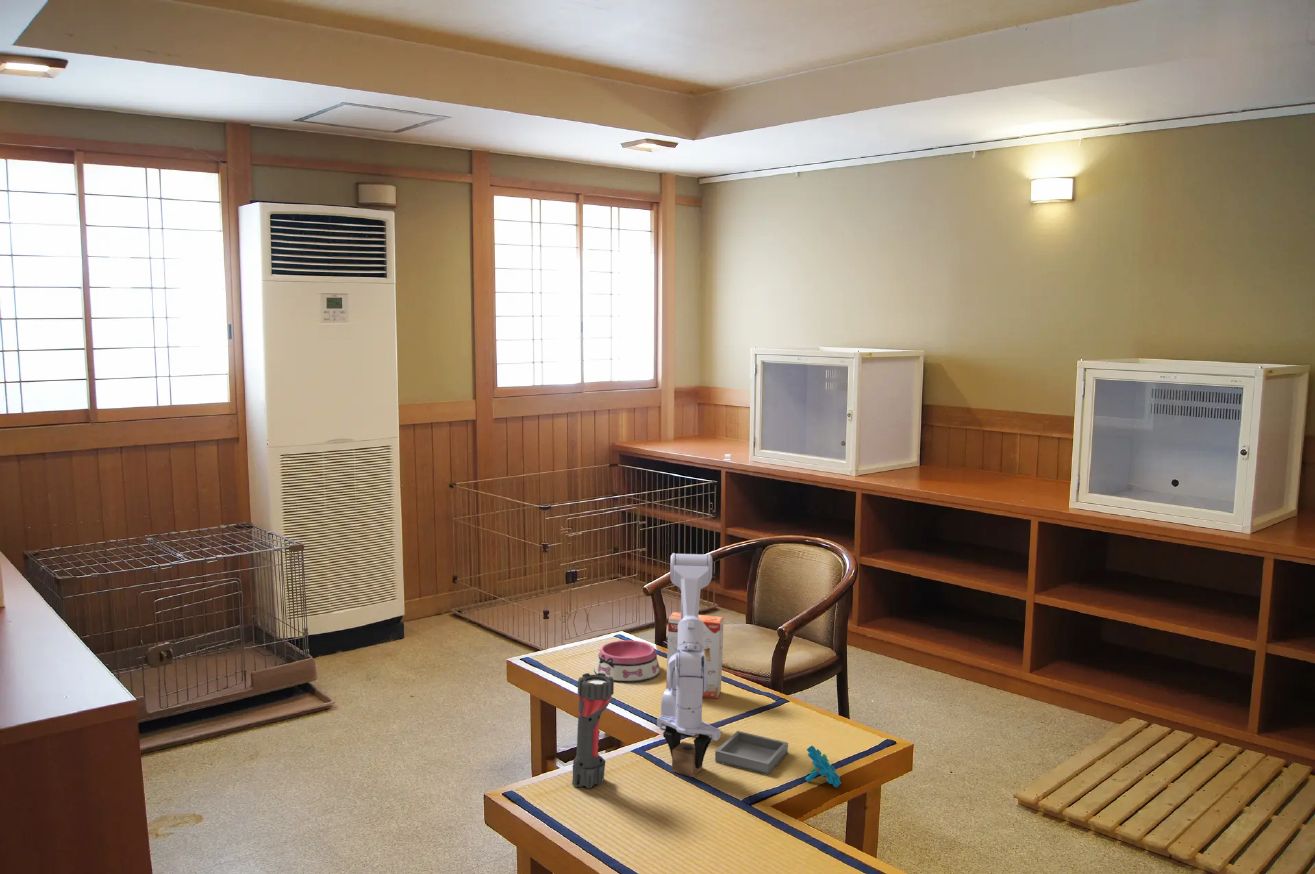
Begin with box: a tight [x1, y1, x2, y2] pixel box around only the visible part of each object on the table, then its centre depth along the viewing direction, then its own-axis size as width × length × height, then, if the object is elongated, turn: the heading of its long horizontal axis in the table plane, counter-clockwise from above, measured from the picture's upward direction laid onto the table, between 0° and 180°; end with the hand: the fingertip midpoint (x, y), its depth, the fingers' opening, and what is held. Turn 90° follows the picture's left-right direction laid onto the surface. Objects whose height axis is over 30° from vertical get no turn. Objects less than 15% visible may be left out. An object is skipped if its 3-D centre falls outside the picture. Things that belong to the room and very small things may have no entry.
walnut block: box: [671, 740, 703, 778], centre depth 212 cm, size 5×5×5 cm
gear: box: [805, 745, 842, 788], centre depth 208 cm, size 11×6×10 cm
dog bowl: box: [593, 639, 661, 684], centre depth 271 cm, size 18×19×7 cm
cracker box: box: [665, 611, 725, 700], centre depth 255 cm, size 14×6×21 cm, turn 76°
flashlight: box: [571, 672, 615, 789], centre depth 204 cm, size 8×8×23 cm
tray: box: [714, 730, 789, 776], centre depth 219 cm, size 13×13×2 cm
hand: (687, 763), depth 212 cm, fingers closed on walnut block, 5 cm apart
